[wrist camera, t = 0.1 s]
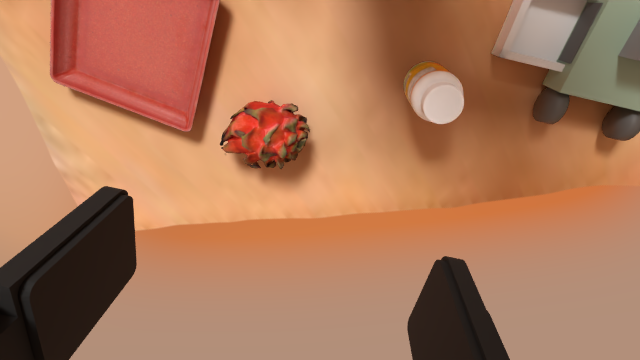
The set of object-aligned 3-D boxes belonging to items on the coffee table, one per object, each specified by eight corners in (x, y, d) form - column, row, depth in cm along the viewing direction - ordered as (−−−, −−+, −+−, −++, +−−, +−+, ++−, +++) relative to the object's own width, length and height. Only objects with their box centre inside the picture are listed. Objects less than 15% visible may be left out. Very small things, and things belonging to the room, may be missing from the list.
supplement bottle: (454, 90, 44) (480, 114, 35) (414, 112, 46) (430, 140, 37) (436, 51, 42) (459, 66, 34) (395, 75, 44) (406, 96, 35)
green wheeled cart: (552, -92, 35) (595, -110, 29) (724, -47, 36) (803, -55, 30) (470, 101, 44) (490, 119, 38) (609, 134, 45) (651, 156, 39)
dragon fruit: (321, 119, 49) (242, 128, 52) (302, 77, 41) (210, 90, 44) (317, 175, 45) (232, 181, 48) (295, 140, 38) (196, 150, 41)
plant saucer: (66, 75, 47) (47, 81, 44) (72, -82, 39) (49, -89, 36) (199, 126, 49) (190, 134, 46) (232, -15, 41) (223, -15, 38)
